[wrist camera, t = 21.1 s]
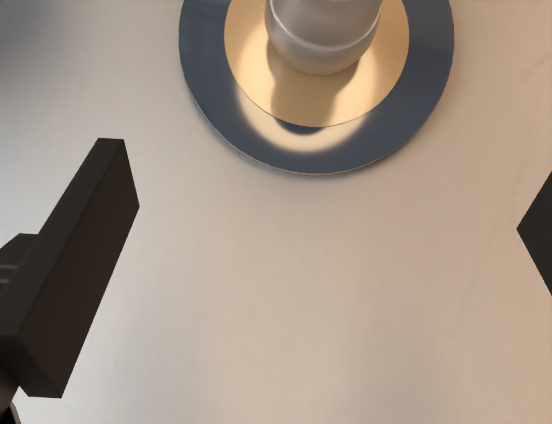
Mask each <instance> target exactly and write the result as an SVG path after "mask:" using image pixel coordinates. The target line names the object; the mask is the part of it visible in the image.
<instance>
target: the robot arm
mask: <svg viewBox="0 0 552 424" xmlns="http://www.w3.org/2000/svg"><path fill="white" fill-rule="evenodd" d="M139 207H140V206H139V202H138V197H137V193H136V189H135V185H134V181H133V176H132V172H131V168H130V164H129V160H128V155H127V151H126V147H125V143H124V139H110V138H98V139H97V141H96V142H95V144H94V146H93V147H92V149H91V150H90V152H89V154H88V155H87V157H86V158H85V160H84V162H83V163H82V165H81V166H80V168H79V170H78V171H77V173H76V174H75V176H74V178H73V179H72V181H71V182H70V184H69V186H68V187H67V189H66V190H65V192H64V194H63V195H62V197H61V198H60V200H59V201H58V203H57V205H56V206H55V208H54V209H53V211H52V213H51V214H50V216H49V217H48V219H47V221H46V222H45V224H44V225H43V227H42V229H41V230H40V232H39V233H38V234H23V233H19V234H18V235H17V236H15V237H14V238H13V239H12V240H10V241H9V242H8V243H7V244H5V245H4V246H3V247H1V249H0V424H21V422H20V419H19V416H18V413H17V410H16V407H15V405H14V404H13V402H12V399H13V397H14V395H15V393H16V391H17V389H18V387H19V386H20V387H21V388H22V390H23V391H24V392H25V393H26V394H27V396H29V397H46V398H62V395H63V393H64V390H65V388H66V385H67V383H68V380H69V378H70V376H71V373H72V371H73V368H74V366H75V363H76V361H77V358H78V356H79V354H80V351H81V349H82V346H83V344H84V341H85V339H86V336H87V334H88V332H89V329H90V327H91V324H92V322H93V319H94V317H95V314H96V312H97V310H98V307H99V305H100V302H101V300H102V297H103V295H104V293H105V290H106V288H107V285H108V283H109V280H110V278H111V275H112V273H113V271H114V268H115V266H116V263H117V261H118V258H119V256H120V253H121V251H122V249H123V246H124V244H125V241H126V239H127V236H128V234H129V231H130V229H131V227H132V224H133V222H134V219H135V217H136V214H137V212H138V209H139ZM516 229H517V231H518V233H519V235H520V237H521V239H522V241H523V242H524V244H525V246H526V248H527V250H528V252H529V254H530V256H531V257H532V259H533V261H534V263H535V265H536V267H537V269H538V271H539V272H540V274H541V276H542V278H543V280H544V282H545V284H546V286H547V287H548V289H549V291H550V293H551V295H552V172H551V173H550V175H549V177H548V178H547V180H546V181H545V183H544V185H543V186H542V188H541V190H540V191H539V193H538V194H537V196H536V198H535V199H534V201H533V202H532V204H531V206H530V207H529V209H528V211H527V212H526V214H525V215H524V217H523V219H522V220H521V222H520V224H519V225H518V227H517V228H516Z"/></svg>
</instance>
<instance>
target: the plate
mask: <svg viewBox="0 0 552 424" xmlns="http://www.w3.org/2000/svg"><path fill="white" fill-rule="evenodd" d="M265 3H266V0H184V2H183V6H182V9H181V15H180V23H179V52H180V60H181V65H182V69H183V73H184V77H185V80H186V83H187V85H188V88H189V90H190V92H191V95H192V97H193V99H194V101H195V102H196V104H197V106H198V108H199V109H200V111H201V113H202V114H203V116H204V117H205V119H206V120H207V121H208V122H209V124H210V125H211V126H212V128H213V129H214V130H215V131H216V132H217V133H218V134H219V135H220V136H221V137H222V138H223V139H224V140H225V141H226V142H227V143H228V144H229V145H231V146H232V147H233V148H235V149H236V150H237V151H239V152H240V153H241V154H243V155H245V156H246V157H248V158H250V159H252V160H253V161H255V162H257V163H260V164H262V165H265V166H267V167H269V168H272V169H275V170H279V171H283V172H287V173H291V174H299V175H307V176H311V175H332V174H339V173H344V172H348V171H352V170H355V169H359V168H362V167H364V166H366V165H369V164H371V163H374V162H376V161H377V160H379V159H381V158H383V157H384V156H386V155H388V154H389V153H391V152H393V151H394V150H396V149H397V148H398V147H399V146H401V145H402V144H403V143H405V142H406V141H407V140H408V139H410V138H411V137H412V136H413V135H414V134H415V132H416V131H417V130H418V129H419V128H420V127H421V126H422V125H423V124H424V122H425V121H426V120H427V119H428V117H429V116H430V115H431V113H432V112H433V110H434V108H435V107H436V105H437V103H438V101H439V99H440V98H441V96H442V93H443V91H444V88H445V86H446V83H447V81H448V77H449V73H450V69H451V65H452V59H453V50H454V25H453V19H452V12H451V7H450V4H449V0H383V1H382V4H381V14H380V20H379V23H378V27H377V31H376V34H375V37H374V40H373V42H372V43H371V45H370V47H369V48H368V50H367V51H366V52H365V53H364V54H363V55H362V56H361V57H360V58H359V59H358V60H357V61H356V62H354V63H353V64H352V65H351V66H349V67H348V68H346V69H344V70H342V71H340V72H338V73H334V74H330V75H320V76H319V75H310V74H306V73H303V72H300V71H298V70H296V69H294V68H292V67H291V66H289V65H288V64H287V63H286V62H284V61H283V60H282V59H281V57H280V56H279V55H278V54H277V52H276V51H275V49H274V47H273V45H272V43H271V41H270V38H269V35H268V32H267V29H266V26H265V18H264V12H265Z"/></svg>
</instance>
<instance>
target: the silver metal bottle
mask: <svg viewBox="0 0 552 424" xmlns="http://www.w3.org/2000/svg"><path fill="white" fill-rule="evenodd" d="M382 1H383V0H266V3H265V12H264V18H265V26H266V29H267V32H268V35H269V38H270V41H271V43H272V45H273V47H274V49H275V51H276V52H277V54H278V55H279V56H280V57H281V59H282V60H283V61H284V62H286V63H287V64H288V65H289V66H291V67H292V68H294V69H296V70H298V71H300V72H303V73H306V74H310V75H319V76H320V75H330V74H334V73H338V72H340V71H342V70H344V69H346V68H348V67H349V66H351V65H352V64H353V63H354V62H356V61H357V60H358V59H359V58H360V57H361V56H362V55H363V54H364V53H365V52H366V51H367V50H368V48H369V47H370V45H371V43H372V42H373V40H374V37H375V34H376V31H377V27H378V23H379V20H380V14H381V4H382Z"/></svg>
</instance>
